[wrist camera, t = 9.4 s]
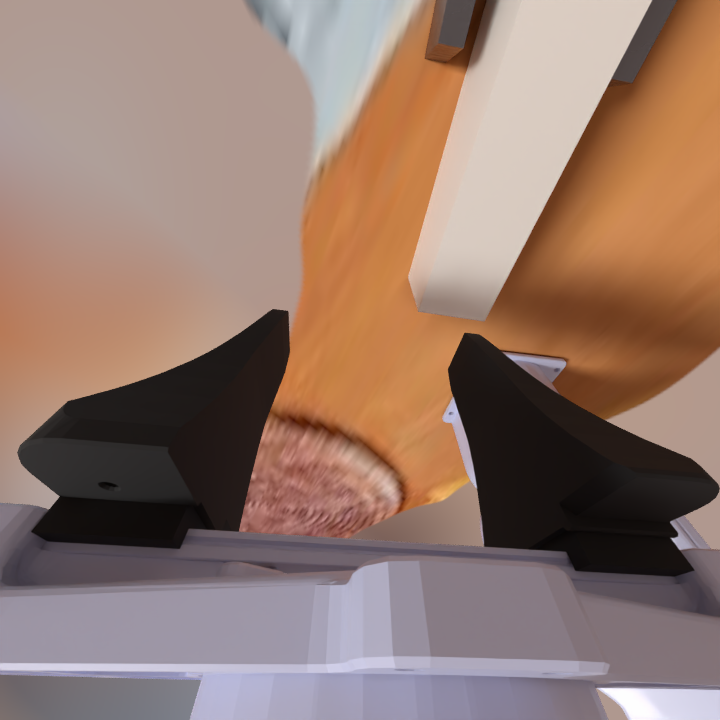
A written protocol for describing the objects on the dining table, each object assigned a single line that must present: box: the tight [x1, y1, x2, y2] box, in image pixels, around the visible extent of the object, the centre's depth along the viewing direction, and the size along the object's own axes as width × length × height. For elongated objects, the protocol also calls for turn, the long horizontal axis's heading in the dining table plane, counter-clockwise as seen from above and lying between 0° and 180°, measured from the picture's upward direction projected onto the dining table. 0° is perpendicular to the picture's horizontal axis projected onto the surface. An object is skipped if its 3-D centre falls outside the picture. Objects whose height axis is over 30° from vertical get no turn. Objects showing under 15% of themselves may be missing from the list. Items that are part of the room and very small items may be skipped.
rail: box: [408, 0, 652, 321], centre depth 13 cm, size 16×4×5 cm, turn 171°
